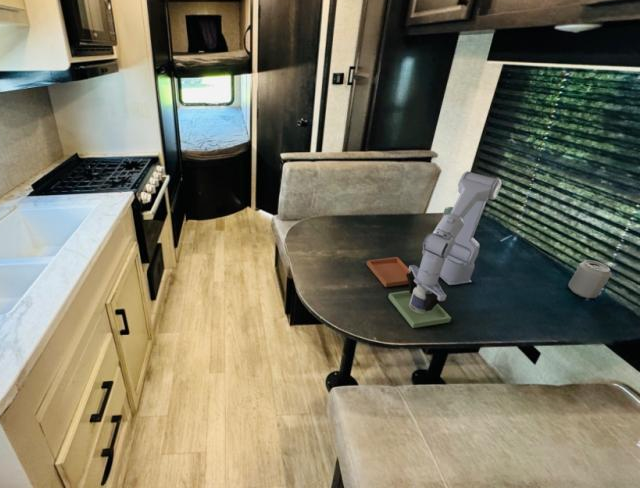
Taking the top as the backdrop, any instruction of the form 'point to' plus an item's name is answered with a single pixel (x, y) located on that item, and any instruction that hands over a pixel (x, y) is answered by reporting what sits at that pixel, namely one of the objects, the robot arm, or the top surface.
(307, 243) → the top surface
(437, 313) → the sage tray
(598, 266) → the beige cylinder
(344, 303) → the top surface
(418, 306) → the pill bottle
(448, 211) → the cup
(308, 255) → the top surface
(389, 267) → the terracotta tray
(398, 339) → the top surface
